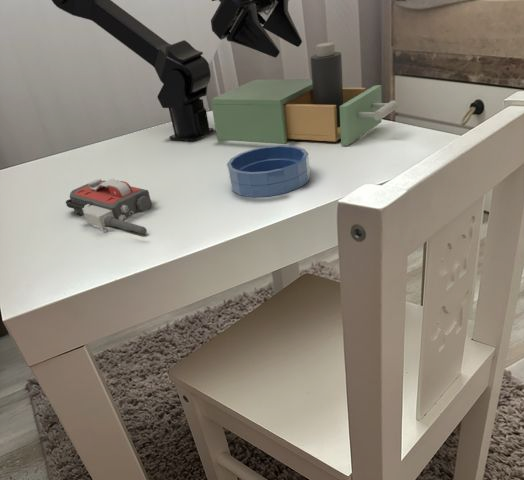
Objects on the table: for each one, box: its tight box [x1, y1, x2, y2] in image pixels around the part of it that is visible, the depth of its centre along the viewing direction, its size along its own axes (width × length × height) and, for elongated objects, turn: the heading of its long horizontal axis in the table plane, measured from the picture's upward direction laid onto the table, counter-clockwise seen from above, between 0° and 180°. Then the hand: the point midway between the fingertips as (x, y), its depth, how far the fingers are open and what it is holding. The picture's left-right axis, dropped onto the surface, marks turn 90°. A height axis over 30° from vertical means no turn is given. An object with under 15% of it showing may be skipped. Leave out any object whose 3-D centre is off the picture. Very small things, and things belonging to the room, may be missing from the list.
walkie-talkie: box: [65, 178, 153, 234], centre depth 72 cm, size 9×4×20 cm
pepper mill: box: [310, 41, 344, 128], centre depth 85 cm, size 5×5×12 cm
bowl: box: [226, 144, 311, 198], centre depth 74 cm, size 11×11×4 cm
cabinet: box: [209, 78, 313, 145], centre depth 94 cm, size 15×14×8 cm
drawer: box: [283, 84, 399, 147], centre depth 87 cm, size 18×12×6 cm
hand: (289, 49), depth 85 cm, fingers open, 9 cm apart
